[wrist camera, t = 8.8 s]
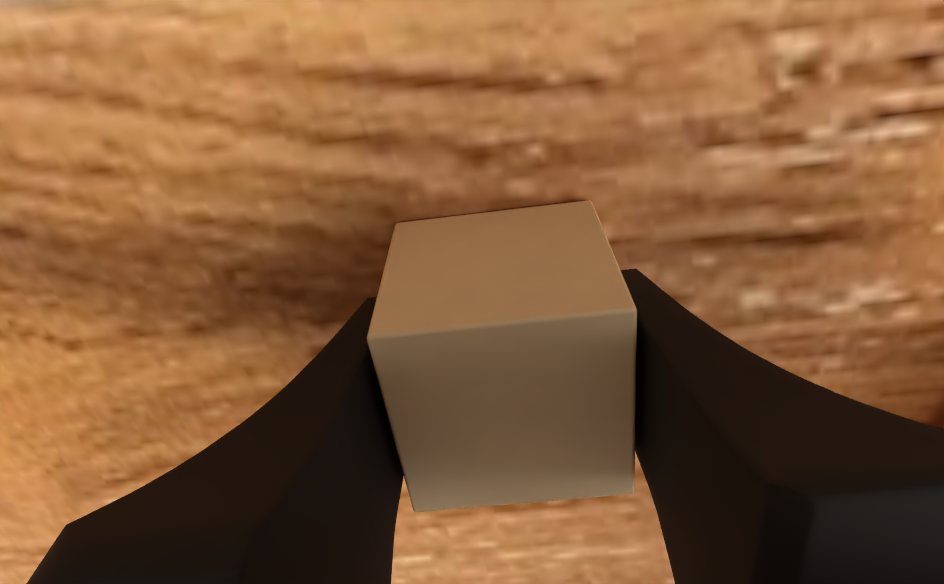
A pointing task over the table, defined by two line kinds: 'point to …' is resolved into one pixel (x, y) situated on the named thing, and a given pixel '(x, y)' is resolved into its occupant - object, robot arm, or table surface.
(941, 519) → the robot arm
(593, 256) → the block
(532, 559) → the table surface
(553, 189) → the table surface
